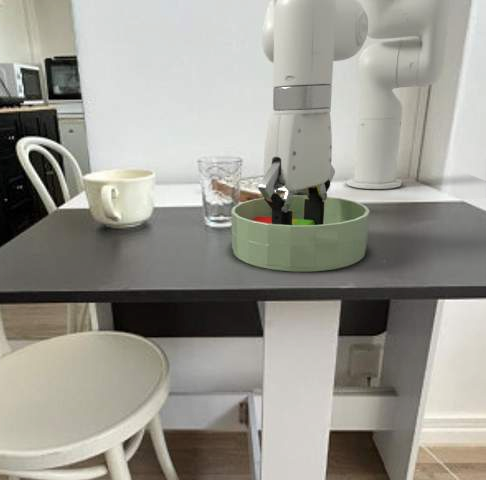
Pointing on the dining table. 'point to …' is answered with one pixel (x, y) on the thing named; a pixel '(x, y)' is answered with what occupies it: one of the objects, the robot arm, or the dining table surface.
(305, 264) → the bowl
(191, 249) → the dining table surface
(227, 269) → the dining table surface
